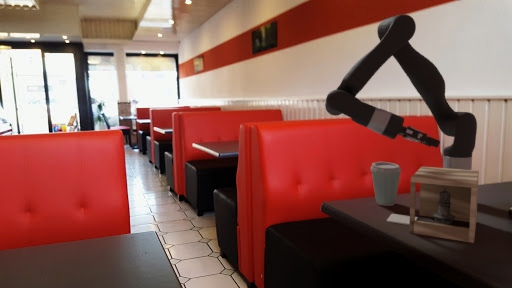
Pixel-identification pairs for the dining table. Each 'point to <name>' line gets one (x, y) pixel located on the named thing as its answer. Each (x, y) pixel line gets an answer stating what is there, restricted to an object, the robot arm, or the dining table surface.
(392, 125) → the robot arm
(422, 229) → the hutch
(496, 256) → the dining table surface
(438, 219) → the salt shaker
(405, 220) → the mat
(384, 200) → the disposable coffee cup
